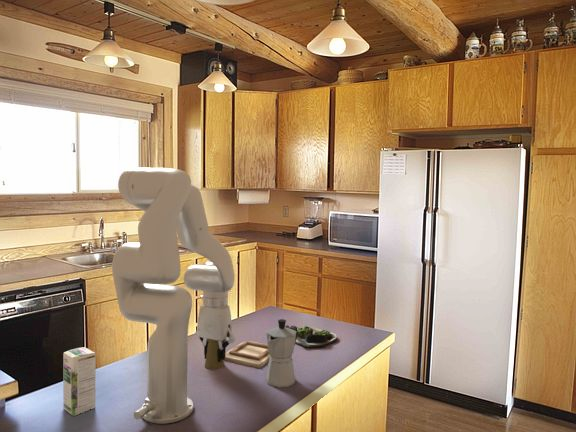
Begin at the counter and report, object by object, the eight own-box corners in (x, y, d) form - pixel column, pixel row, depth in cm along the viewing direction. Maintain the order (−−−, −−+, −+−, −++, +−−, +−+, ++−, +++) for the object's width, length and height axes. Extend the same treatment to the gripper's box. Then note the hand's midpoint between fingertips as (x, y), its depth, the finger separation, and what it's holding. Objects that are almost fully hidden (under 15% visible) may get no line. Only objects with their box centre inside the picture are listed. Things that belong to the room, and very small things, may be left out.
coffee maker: (281, 393, 123) (283, 329, 121) (255, 385, 127) (256, 322, 126) (308, 374, 136) (309, 315, 134) (283, 367, 140) (284, 310, 139)
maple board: (259, 368, 139) (259, 361, 139) (220, 359, 145) (220, 353, 144) (281, 350, 153) (281, 345, 153) (246, 343, 159) (246, 338, 159)
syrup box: (62, 408, 112) (61, 352, 111) (85, 400, 116) (85, 345, 115) (73, 417, 108) (72, 358, 107) (96, 407, 113) (96, 351, 112)
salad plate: (271, 338, 166) (272, 326, 165) (303, 327, 179) (303, 316, 179) (312, 353, 153) (312, 340, 152) (343, 340, 166) (343, 328, 165)
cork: (220, 370, 136) (220, 335, 135) (201, 368, 137) (201, 333, 136) (227, 363, 142) (227, 328, 141) (209, 361, 143) (209, 327, 142)
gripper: (185, 300, 138) (185, 358, 140) (232, 308, 131) (231, 369, 133) (200, 294, 145) (199, 350, 146) (245, 302, 138) (244, 360, 139)
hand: (214, 358), depth 139 cm, fingers closed on cork, 4 cm apart
